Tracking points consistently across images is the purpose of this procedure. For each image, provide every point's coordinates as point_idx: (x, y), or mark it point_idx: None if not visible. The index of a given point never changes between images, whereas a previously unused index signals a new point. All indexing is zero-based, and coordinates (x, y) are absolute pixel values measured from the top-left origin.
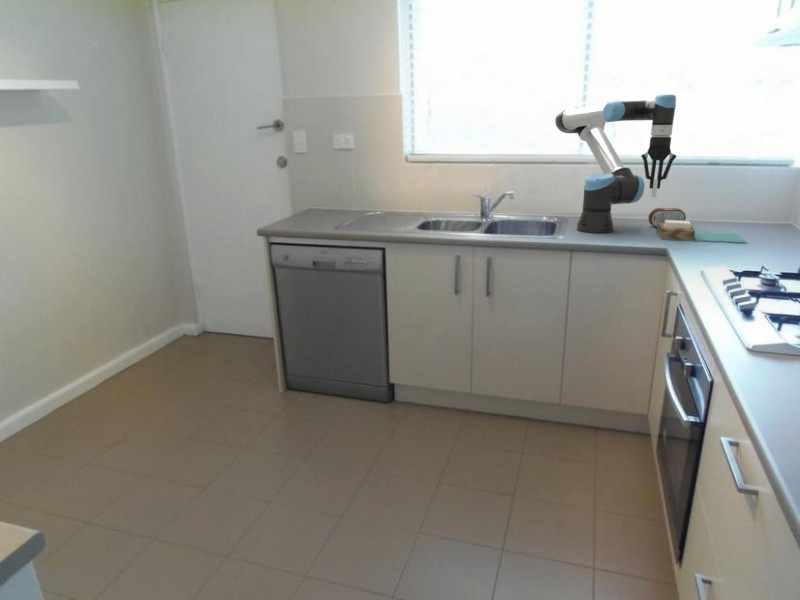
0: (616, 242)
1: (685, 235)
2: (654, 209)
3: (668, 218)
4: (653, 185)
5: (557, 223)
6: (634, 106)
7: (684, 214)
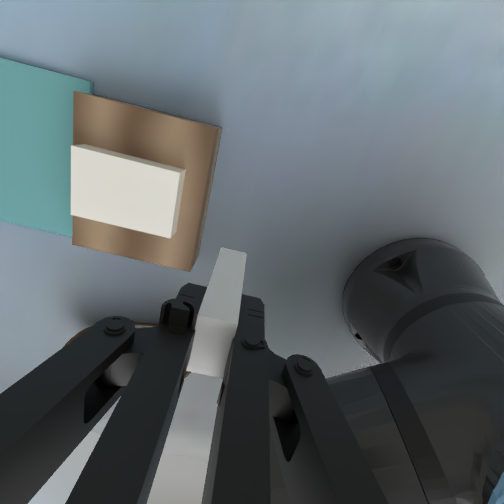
0: (438, 53)
1: (122, 102)
2: None
3: None
4: (239, 296)
5: None
6: None
7: None
